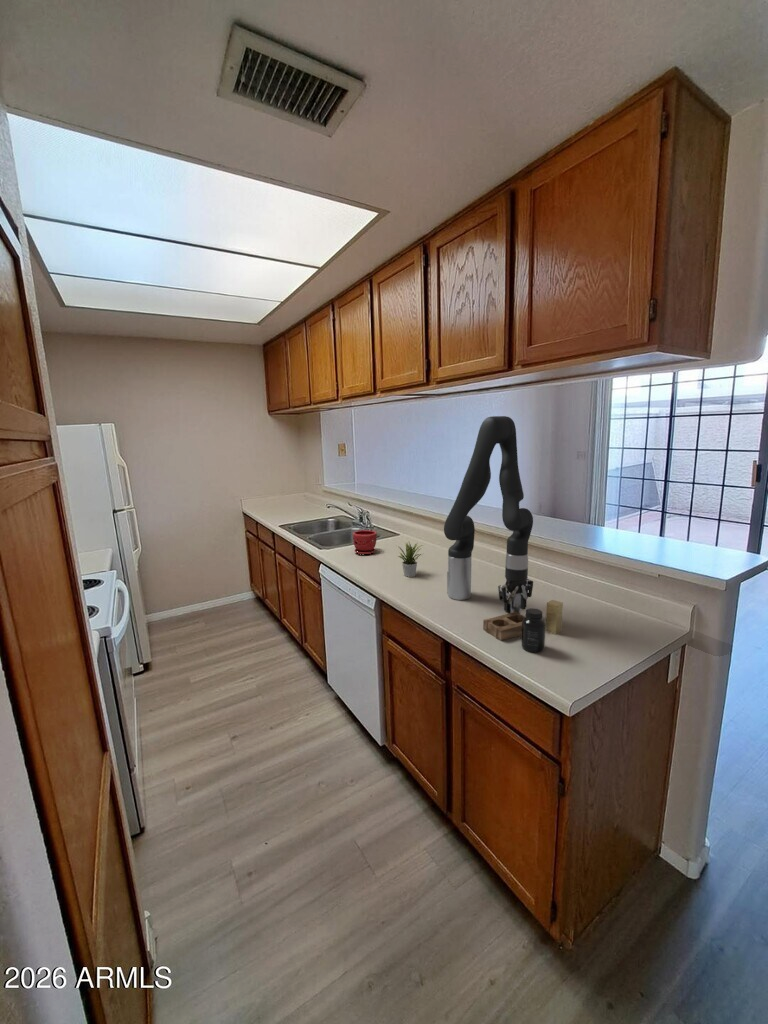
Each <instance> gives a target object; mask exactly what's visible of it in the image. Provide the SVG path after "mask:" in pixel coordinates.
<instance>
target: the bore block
mask: <svg viewBox="0 0 768 1024" xmlns="http://www.w3.org/2000/svg"><path fill="white" fill-rule="evenodd" d="M525 617H526V616H524V615H523V614H521V613H520V614H519V613H517V612H513V613H509V614H508V613H505V614H502V615H498V616H494V617H490V618H486V619H483V622H482V623H483V625H482V626H483V630H484V631H485V632H486V633H487V634H489V635H491V636H493V637H494V638H495V639H497V640H499V641H500V642H503V641H506V640H510V639H512V638H516V637H519V636H522V620H523V619H524V618H525Z"/></svg>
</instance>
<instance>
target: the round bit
mask: <svg viewBox="0 0 768 1024" xmlns="http://www.w3.org/2000/svg"><path fill="white" fill-rule="evenodd" d="M509 594H510V595H511V593H510V592H509ZM513 612H517V613H519V614H521V593H517V594H515V596H514V598H512V600H511V613H513Z"/></svg>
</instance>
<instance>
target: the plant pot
mask: <svg viewBox="0 0 768 1024" xmlns="http://www.w3.org/2000/svg"><path fill="white" fill-rule="evenodd" d="M377 539H378V537H377V532H376V531H373V530H365V529H364V530H356V531H354V532H353V533H352V541H353V542H352V543H353V545H354V548H355V549H354V553H355V552H356V553H355V554H357V553H358V554H357V555H359V554H370V555H372V554H371V553H373V554H374V553H375V552H376V549H375V547H376V545H377ZM357 551H358V552H357Z"/></svg>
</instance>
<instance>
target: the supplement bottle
mask: <svg viewBox="0 0 768 1024" xmlns="http://www.w3.org/2000/svg"><path fill="white" fill-rule="evenodd" d="M520 644H521V647H522V649H523V650H524V651H527V652H529V653H541V652H543V651H544V650H545V645H546V621H545V620H544V619H543V611H542V610H541V609H538V608H527V609H525V618H524V619H523V620H522V635H521V643H520Z"/></svg>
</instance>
